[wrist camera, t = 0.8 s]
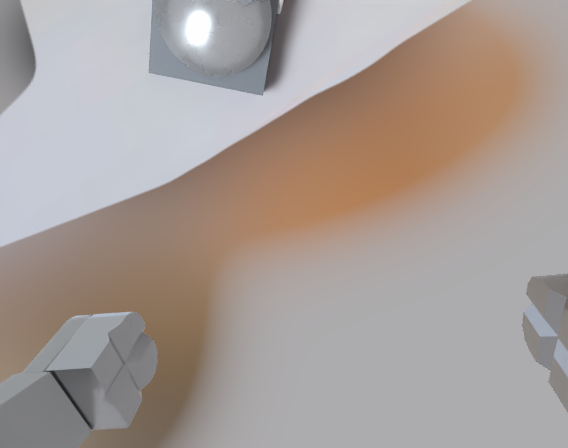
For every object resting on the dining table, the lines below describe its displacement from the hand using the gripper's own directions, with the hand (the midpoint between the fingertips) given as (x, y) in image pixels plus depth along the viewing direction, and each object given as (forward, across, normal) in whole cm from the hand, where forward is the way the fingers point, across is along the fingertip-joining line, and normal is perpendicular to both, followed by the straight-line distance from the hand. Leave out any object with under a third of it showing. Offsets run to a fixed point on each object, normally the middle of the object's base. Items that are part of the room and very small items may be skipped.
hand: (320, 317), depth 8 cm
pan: (+35, +10, -8) cm, 37 cm away
